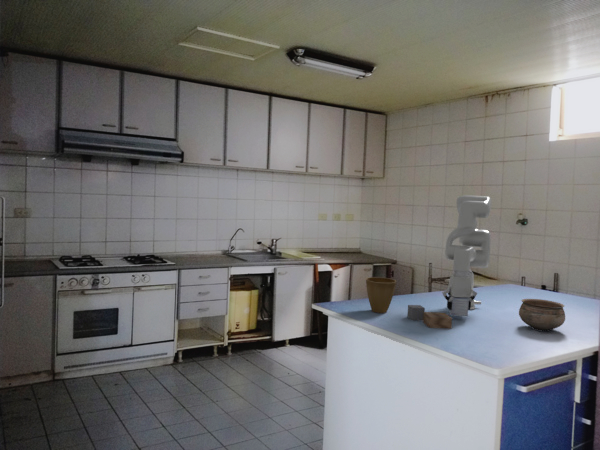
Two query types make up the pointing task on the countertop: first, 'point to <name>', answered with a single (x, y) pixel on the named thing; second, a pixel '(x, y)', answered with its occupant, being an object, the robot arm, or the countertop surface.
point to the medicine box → (459, 307)
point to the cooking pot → (542, 314)
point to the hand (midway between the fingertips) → (458, 309)
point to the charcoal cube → (415, 312)
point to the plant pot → (380, 293)
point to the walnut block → (437, 320)
